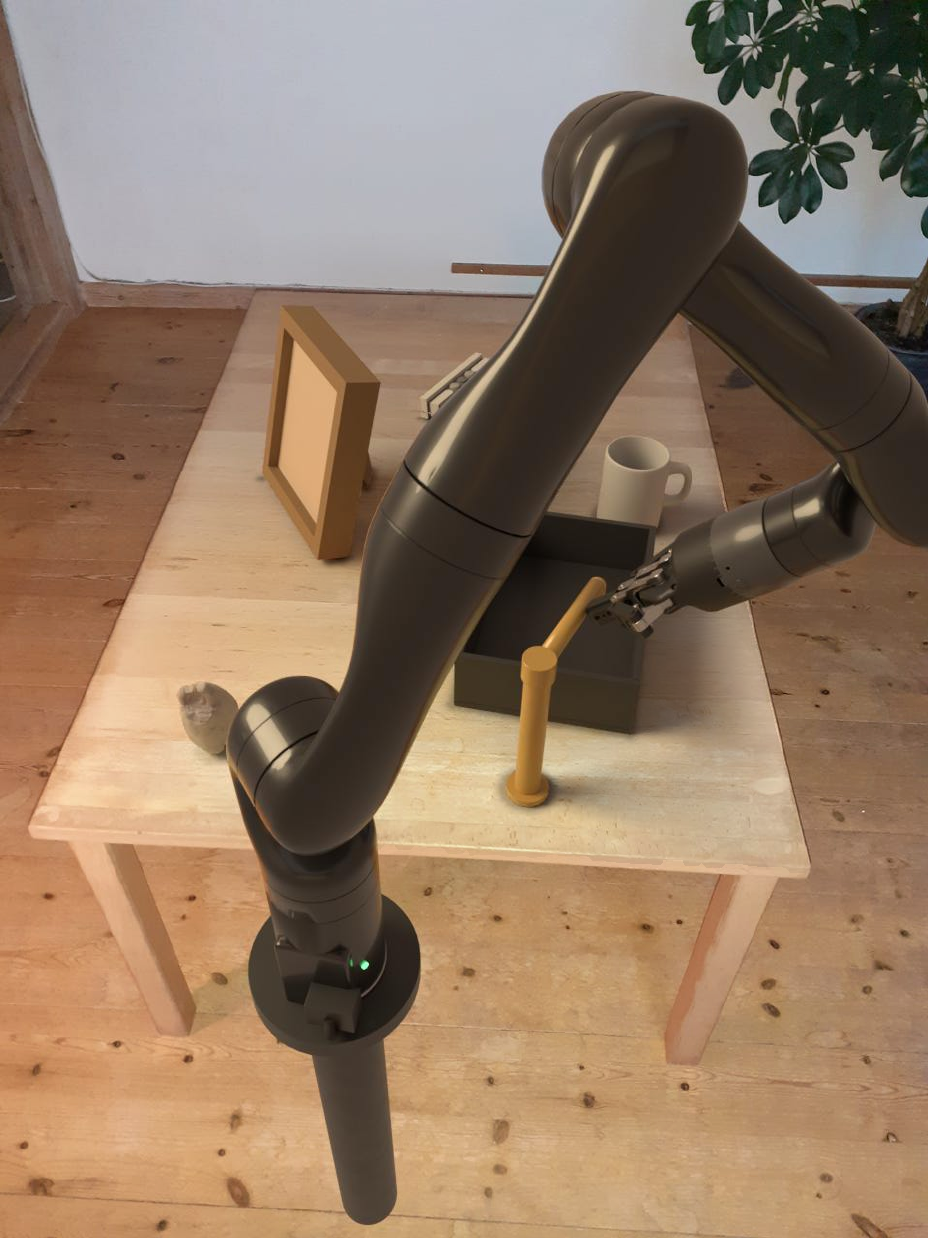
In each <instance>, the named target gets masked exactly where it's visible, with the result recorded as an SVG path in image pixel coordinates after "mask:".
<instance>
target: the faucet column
mask: <svg viewBox="0 0 928 1238" xmlns="http://www.w3.org/2000/svg"><path fill="white" fill-rule="evenodd" d="M550 694H551V686H550V687H548V688H544V689H534V688H531V687H528V686H527V685H525V684H524V683H523V691H522V703H521V715H520V716H519V717H520V718H519V727H518V728H519V729H518V738H517V750H516V751H517V753H516V761H515V762H516V764H515V770H514V771H512V772H511V773H510V774H509V775H508V777H507V778H506V781H505V793H506V796H507V797H508V799H509V800H510V801H511V802H512V803H514V804H515V805H517V806H519V807H526V808H531V807H537V806H539V805H540V804H542V803H543V802H544V801H545V800H547V797H548V795H549V790H550V784H549V781H548V779H547V777H546V776H545V775H544V774H543V763H544V756H545V746H546V737H547V730H548V729H547V727H548V721H547V720H548V711H549V702H550Z"/></svg>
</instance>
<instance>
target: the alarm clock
mask: <svg viewBox="0 0 928 1238" xmlns="http://www.w3.org/2000/svg"><path fill="white" fill-rule="evenodd" d="M489 359H490V358H489V357H483V353H480V352H474V353H473V354H471V355H470V356H469V357H468V358H466V360H464V361H463V362H462V363H460V364H459V365H458V366H457V367H455V369H453V370H452V371H451V372H450V373H448V374H447V375H446V376H445V377H444V378H442V379H441V380H440V381H439V382H437V383H436V384H435V385H434V386H432V387H431V388H430V389H428V390H427V391H426V392H425V393H424V394H422V395H421V396H420V397H419V407H420V416H421V418H422V419H426V420H430V419H431V417H432V416H433V415H431V414H429V413H428V412H430V413H433V414H435V413H436V412H437V411H438V409H439V408H440V407H441V406H442V405H443V404H444V403H445V402H446V401H447V400H448V399H449V398H450V397H451V396H452V395H453V394H454V393H455V392H456V391H457V390H458V389H459V388H460V387H461V386H463V385H464V384H465V383H466V382H467V381H468V380H469V379H470V378H471V377H472V376H473V375H474V374H475V373H476V372H477V371H478V370H479V369H480V368H481V367H482V366H483V365H484V364H485V363H486V362H487V361H488V360H489ZM421 411H424V412H426V413H428V414H426V413H423V412H421Z"/></svg>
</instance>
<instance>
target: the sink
mask: <svg viewBox="0 0 928 1238" xmlns="http://www.w3.org/2000/svg"><path fill="white" fill-rule="evenodd" d="M656 533H657V529H656V526H652V525H644V524H637V523H630V522H622V521H615V520H608V519H600V518H597V517H592V516H587V515H586V516H584V515H577V514H571V513H563V512H555V511H549V510H547V511H546V513H545V515H544V517H543V519H542V521H541V522H540V524H539V526H538V528H537V530H536V532H535V533H534V535H533V537H532V538H531V540H530V541H529V543H528V545H527V546H526V548H525V550H524V551H523V553H522V555H521V556H520V558H519V559H518V561H517V563H516V564H515V566H514V568H513V569H512V571H511V572H510V574H509V576H508V577H507V579H506V580H505V582H504V583H503V584H502V586H501V587H500V589H499V590H498V592H497V593H496V595H495V596H494V598H493V599H492V601H491V602H490V604H489V605H488V607H487V608H486V610H485V612H484V613H483V615H482V617H481V618H480V620H479V622H478V623H477V625H476V627H475V628H474V630H473V632H472V633H471V635H470V637H469V639H468V640H467V642H466V644H465V646H464V647H463V649H462V651H461V653H460V654H459V656H458V658H457V660H456V661H455V663H454V665H453V666H454V669H453V670H454V671H453V673H454V674H453V706H457V707H462V708H469V709H475V710H481V711H487V712H493V713H498V714H505V715H509V716H517V717H520V715H521V703H522V691H523V681H522V679H521V663H522V655H523V653H524V652H525V651H526V650H527V649H528V648H531V647H534V646H542V645H543V644H544V643H545V641H546V640H547V638H548V637H549V636H550V634H551V633H552V632H553V630H554V629H555V627H556V626H557V625H558V623H559V622H560V620H561V619H562V618H563V616H564V615H565V613H566V612H567V611H568V609H569V608H570V607H571V605H572V604H573V602H574V601H575V600H576V598H577V597H578V595H579V594H580V593H581V591H582V590H583V588H584V587H585V586H586V584H587V583H588V582H589V580H590V579H591V578H593V577H600V578H603V579H604V580H605V582H606V592H605V594H607V593H610V592H612V591H615V590H617V588H618V587H619V586H620V584H622V583H624V582H626V581H628V580H630V579H632V578H631V577H630V574H631V573H632V572H633V571H634V570H636V569H637V568H639V567H640V566H641V565H643V564H644V563H645V562H647V561H648V560H649V559H651V558H652V557H653V556H655V546H656V535H657V534H656ZM645 640H646V638H641V637H639V636H637V635H635V634H632V633H630V632H628V631H626V630H624V629H623V628H622V627H621V626H620V623H619V622H618V621H617V620H614V621H611V622H609V623H606V624H603V625H601V626H597V625H595V624H594V623H593V622H592V620H591V619H590V618H589V617H588V615H587V616H586V618H585V619H584V621H583V622H582V624H581V625H580V627H579V628H578V629H577V631H576V632H575V634H574V635H573V637H572V638H571V640H570V641H569V642H568V644H567V645H566V647H565V648H564V650H563V651H562V652H561V654H560V655H559V657H558V658H557V659H558V662H557V670H556V679H555V681H554V683H553V684H552V685H551V694H550V702H549V711H548V720H547V722H553V723H559V724H565V725H572V726H576V727H577V726H578V727H584V728H588V729H589V728H590V729H595V730H602V731H607V732H613V733H618V734H619V733H620V734H625V735H631V731H632V726H633V722H634V718H635V717H634V716H635V713H636V707H637V702H638V698H639V694H640V693H639V692H640V688H641V680H642V671H643V670H642V669H643V660H644V651H645Z"/></svg>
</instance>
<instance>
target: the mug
mask: <svg viewBox="0 0 928 1238" xmlns="http://www.w3.org/2000/svg"><path fill="white" fill-rule="evenodd" d="M671 458H672V456H671V452H670V450H669V449H668V448H667V446H666V445H665V444H663V443H662V442H660V441H658V440H657V439H654V438H651V437H646V436H642V435H626V436H621V437H618V438H615V439H613V440H612V441H610V443H609V444H608V445H607V446H606V449H605V454H604V460H603V469H602V476H601V483H600V491H599V498H598V503H597V504H598V505H597V509H596V518H600V519H608V520H615V521H622V522H630V523H637V524H644V525H652V526H656V530H657V528H658V526H659V524H660V520H661V514H662V510H663V508H671V507H677V506H680V505H681V504H683V503H685V501H686V500H687V498H688V496H689V494H690V492H691V488H692V484H693V472H692V469H691V467H690V466H689V465H688V464H687V463H685V462H682V461H673V460H672V459H671ZM676 474H678V475H682V476H683V478H684V480H683V481H684V482H683V485H682V488H681V490H679V492H678V493H676V494H666V493H665V492H666V488H667V483H668V479H669V476H671V475H676Z"/></svg>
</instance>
